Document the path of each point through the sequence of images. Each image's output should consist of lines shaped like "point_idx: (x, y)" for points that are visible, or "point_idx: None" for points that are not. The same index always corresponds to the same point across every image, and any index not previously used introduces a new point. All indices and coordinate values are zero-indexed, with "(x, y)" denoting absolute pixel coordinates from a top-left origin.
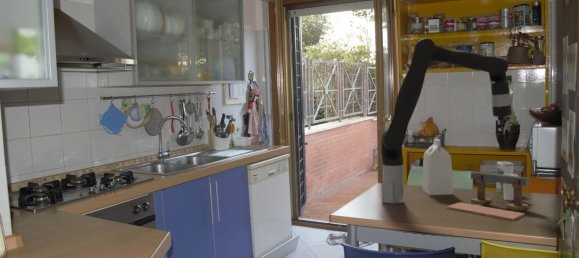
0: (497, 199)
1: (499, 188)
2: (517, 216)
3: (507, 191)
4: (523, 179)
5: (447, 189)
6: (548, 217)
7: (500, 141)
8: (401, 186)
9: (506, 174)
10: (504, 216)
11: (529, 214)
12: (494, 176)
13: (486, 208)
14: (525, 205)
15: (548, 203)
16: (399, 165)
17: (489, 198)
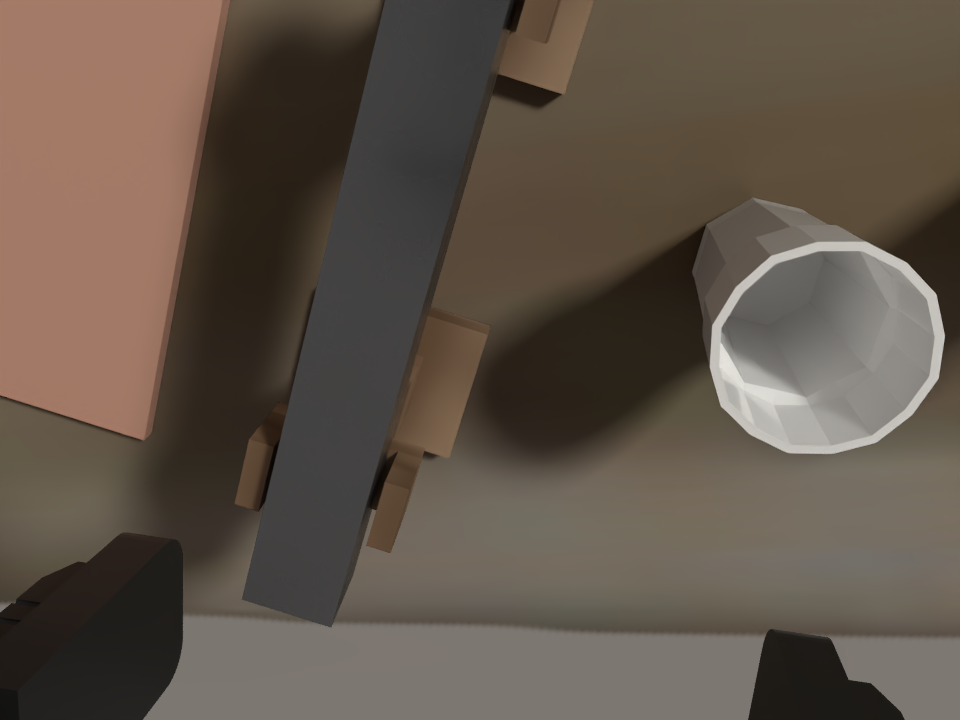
0: (693, 138)
1: None
2: (19, 398)
3: (708, 265)
4: (251, 565)
5: None
6: (190, 587)
7: (46, 594)
8: None
9: (915, 288)
10: None
11: (208, 464)
12: (340, 202)
13: (142, 114)
14: (399, 436)
15: (683, 586)
16: None
17: (570, 70)
